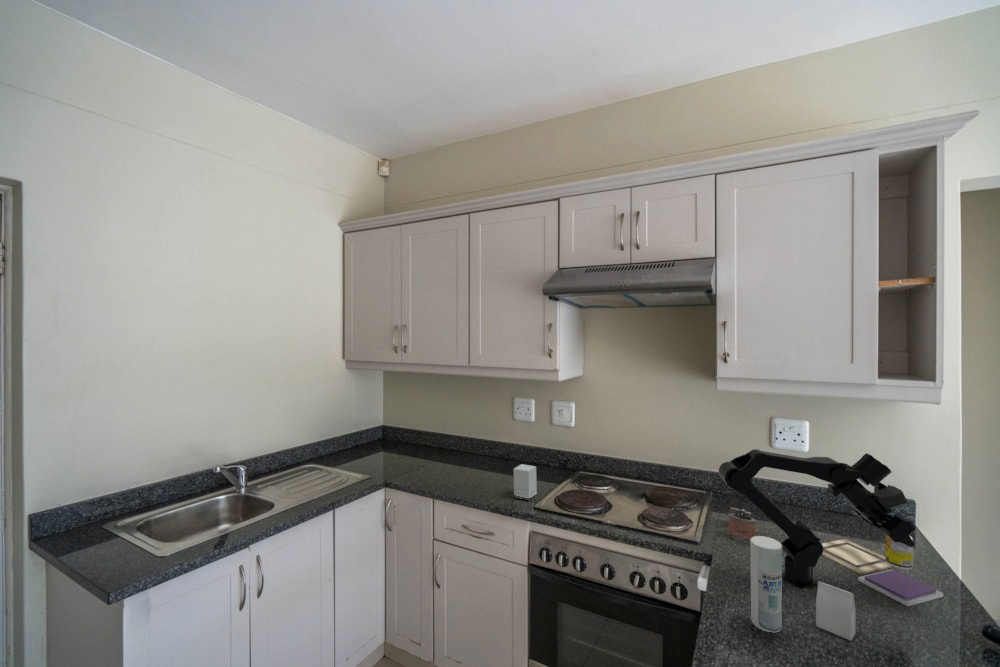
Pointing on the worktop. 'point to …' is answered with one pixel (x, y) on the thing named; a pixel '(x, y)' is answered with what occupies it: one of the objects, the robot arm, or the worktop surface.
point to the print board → (854, 556)
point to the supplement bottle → (898, 554)
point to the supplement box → (525, 481)
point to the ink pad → (900, 587)
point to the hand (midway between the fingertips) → (905, 540)
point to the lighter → (741, 525)
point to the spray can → (766, 583)
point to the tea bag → (835, 610)
